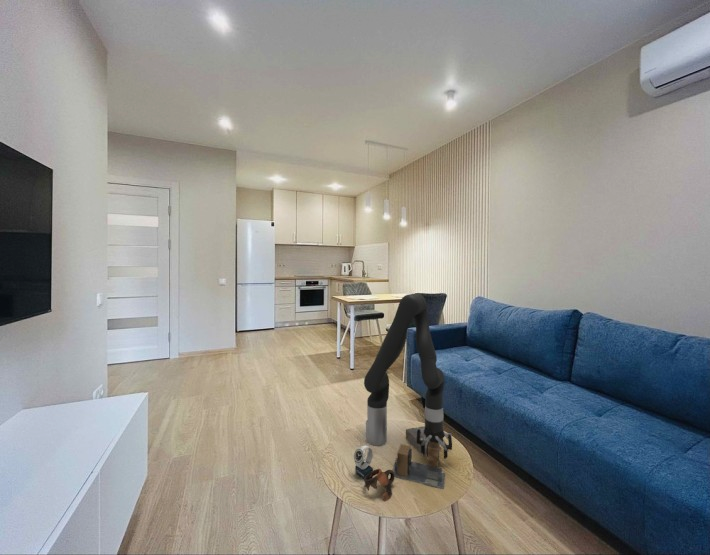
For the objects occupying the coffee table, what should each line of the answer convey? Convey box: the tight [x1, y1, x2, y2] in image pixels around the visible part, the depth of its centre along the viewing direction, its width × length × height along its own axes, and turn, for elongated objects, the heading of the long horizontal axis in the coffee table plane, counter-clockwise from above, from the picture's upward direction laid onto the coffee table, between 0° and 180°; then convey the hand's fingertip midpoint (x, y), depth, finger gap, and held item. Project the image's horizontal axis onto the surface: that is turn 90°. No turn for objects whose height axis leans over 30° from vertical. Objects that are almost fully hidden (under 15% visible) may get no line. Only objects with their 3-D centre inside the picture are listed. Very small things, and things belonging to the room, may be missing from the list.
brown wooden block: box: [426, 441, 440, 467], centre depth 125 cm, size 5×6×8 cm
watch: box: [353, 444, 374, 481], centre depth 117 cm, size 6×8×11 cm
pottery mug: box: [363, 468, 396, 502], centre depth 109 cm, size 12×10×8 cm
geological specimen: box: [405, 425, 442, 457], centre depth 138 cm, size 11×6×15 cm
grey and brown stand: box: [391, 443, 446, 490], centre depth 117 cm, size 20×8×9 cm, turn 69°
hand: (434, 455), depth 124 cm, fingers open, 8 cm apart
